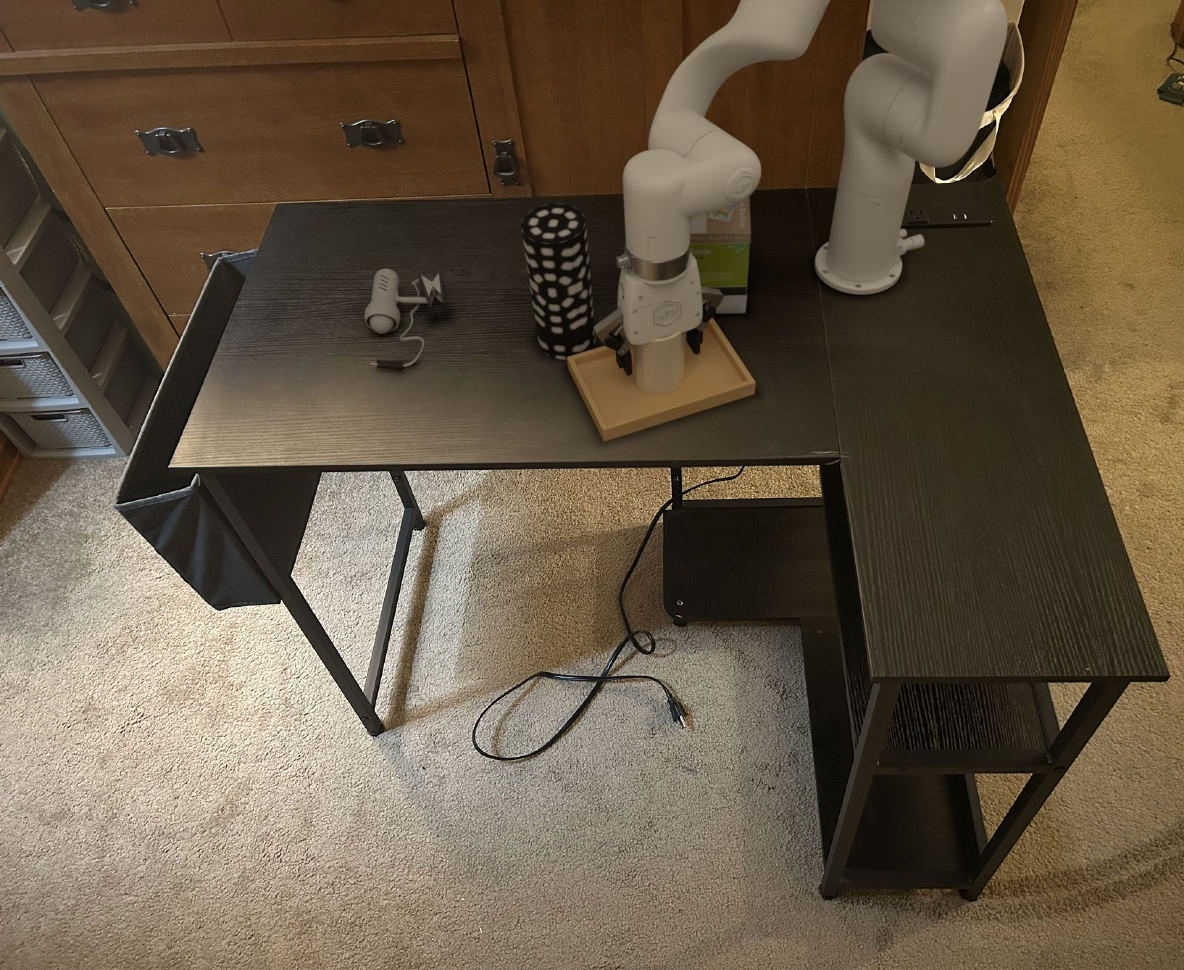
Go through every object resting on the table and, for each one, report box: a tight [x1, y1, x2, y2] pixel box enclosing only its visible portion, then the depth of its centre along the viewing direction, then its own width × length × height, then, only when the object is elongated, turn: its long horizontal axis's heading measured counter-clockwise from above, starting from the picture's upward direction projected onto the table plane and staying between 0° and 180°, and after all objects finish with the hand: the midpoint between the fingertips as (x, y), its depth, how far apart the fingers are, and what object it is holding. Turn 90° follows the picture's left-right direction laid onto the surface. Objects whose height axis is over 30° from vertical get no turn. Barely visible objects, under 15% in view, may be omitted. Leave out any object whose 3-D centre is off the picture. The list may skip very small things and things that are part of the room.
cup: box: [633, 332, 684, 395], centre depth 122 cm, size 7×7×10 cm
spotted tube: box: [520, 202, 597, 360], centre depth 125 cm, size 8×8×20 cm
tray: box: [566, 316, 757, 442], centre depth 125 cm, size 22×15×2 cm
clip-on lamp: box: [364, 267, 449, 371], centre depth 134 cm, size 12×6×18 cm
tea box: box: [690, 195, 752, 315], centre depth 132 cm, size 15×10×15 cm, turn 175°
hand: (659, 358), depth 123 cm, fingers open, 9 cm apart
